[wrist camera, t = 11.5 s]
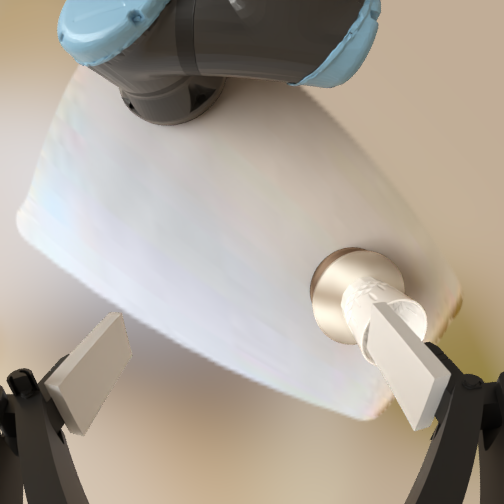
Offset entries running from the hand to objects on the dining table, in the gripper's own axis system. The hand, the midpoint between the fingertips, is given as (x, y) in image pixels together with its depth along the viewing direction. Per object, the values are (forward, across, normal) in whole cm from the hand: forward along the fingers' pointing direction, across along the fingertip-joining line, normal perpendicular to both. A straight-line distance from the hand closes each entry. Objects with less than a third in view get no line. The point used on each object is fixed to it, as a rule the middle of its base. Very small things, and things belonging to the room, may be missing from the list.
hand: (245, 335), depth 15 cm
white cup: (+21, +14, -8) cm, 27 cm away
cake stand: (+26, +14, -8) cm, 31 cm away
